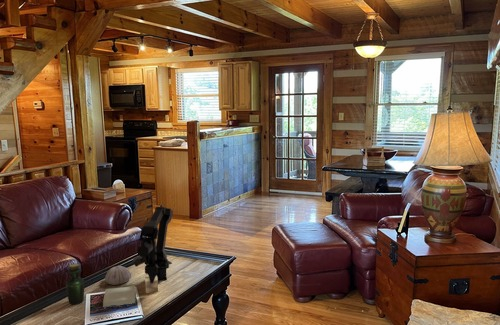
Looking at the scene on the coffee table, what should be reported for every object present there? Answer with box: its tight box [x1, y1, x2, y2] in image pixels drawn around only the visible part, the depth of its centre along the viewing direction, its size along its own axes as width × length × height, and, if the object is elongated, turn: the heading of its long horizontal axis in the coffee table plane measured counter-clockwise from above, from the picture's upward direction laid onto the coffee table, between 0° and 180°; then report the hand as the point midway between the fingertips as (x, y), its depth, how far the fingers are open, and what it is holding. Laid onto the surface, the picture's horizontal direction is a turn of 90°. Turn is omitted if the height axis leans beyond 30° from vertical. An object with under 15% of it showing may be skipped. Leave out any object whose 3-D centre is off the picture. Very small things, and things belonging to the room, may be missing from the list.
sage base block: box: [102, 285, 136, 307], centre depth 187 cm, size 14×14×3 cm
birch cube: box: [144, 276, 159, 294], centre depth 198 cm, size 6×6×6 cm
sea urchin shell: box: [104, 265, 132, 286], centre depth 208 cm, size 13×14×8 cm
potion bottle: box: [65, 263, 85, 305], centre depth 185 cm, size 8×8×18 cm
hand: (151, 279), depth 198 cm, fingers open, 9 cm apart
